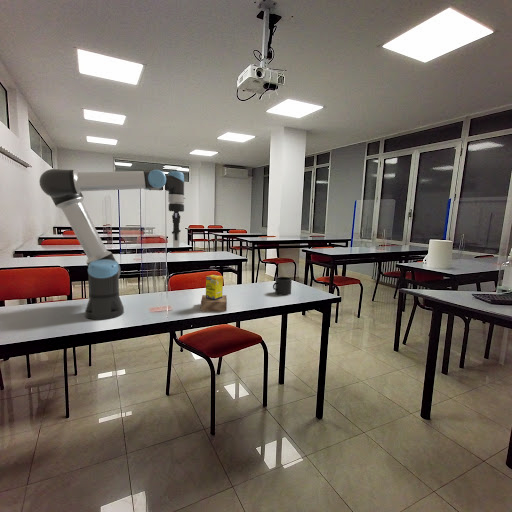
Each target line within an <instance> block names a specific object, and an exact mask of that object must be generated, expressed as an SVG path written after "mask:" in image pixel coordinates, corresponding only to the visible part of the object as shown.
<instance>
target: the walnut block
mask: <svg viewBox="0 0 512 512" xmlns="http://www.w3.org/2000/svg"><path fill="white" fill-rule="evenodd" d="M227 300H228V299H227V295H226V294H222V298H220V299H217V300H213V299H208V298H206V294H205V295H202V297H201V300H200V312H227V306H228V305H227V304H228V303H227V302H228V301H227Z"/></svg>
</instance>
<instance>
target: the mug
mask: <svg viewBox="0 0 512 512" xmlns="http://www.w3.org/2000/svg"><path fill="white" fill-rule="evenodd" d="M272 289H273V290H274V293H275V294H276V293H277V294H276V295H279V294H282V295H281V296H288V295H287V294H290V295H291V294H292V278H291V277H288V276H287V277H286V276H277V277H276V278H275V282H274V283H273V285H272Z"/></svg>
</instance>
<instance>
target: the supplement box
mask: <svg viewBox="0 0 512 512" xmlns="http://www.w3.org/2000/svg"><path fill="white" fill-rule="evenodd" d="M223 284H224V276H223V275H216V274H211V275H207V276H205V295H206V298H208V299H213V300H217V299H220V298H222V295H223V290H224V289H223V286H224V285H223Z"/></svg>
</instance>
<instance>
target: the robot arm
mask: <svg viewBox="0 0 512 512" xmlns="http://www.w3.org/2000/svg"><path fill="white" fill-rule="evenodd" d="M164 185H165V190H166V191H165V192H168V197H167V198H168V199H167V200H168V211H169V212H173V214H172V215H171V217H172V226H173V227H172V228H173V229H172V230H173V231H171V234H172V247H173V248H179V247H180V233H181V229H180V222H181V214H180V212H181V213H182V212H184V211H185V204H184V203H185V200H186V197H185V175H184V173H183V172H182V171H177V170H176V171H175V170H174V171H173V170H171V171H168V173H167V174H165V173H164V172H163V171H162V170H159V169H153V170H135V171H133V170H132V171H131V170H130V171H85V172H84V171H82V172H81V171H80V172H78V170H76V169H59V168H50V169H48V170H46V171H44V172H42V174H41V175H40V177H39V186H40V189H41V191H43V193H45V195H47V196H48V197H50V198H51V200H52V202H53V204H54V205H55V207H56V208H58V209H61V211H62V212H63V215H64V216H65V217H66V220H67V221H68V223H69V225H70V228H71V230H72V231H73V233H74V235H75V237H76V239H77V240H78V243H79V244H80V246H81V248H82V250H83V252H84V253H85V255H86V257H87V260H86V265H87V267H88V268H87V274H88V297H89V298H88V301H87V305H86V308H85V312H84V313H85V318H86V317H87V318H86V319H89V318H90V319H89V320H96V319H99V320H108V319H115V318H116V317H117V318H118V317H120V316H122V315H124V313H125V311H124V310H125V309H124V305H123V303H122V300H121V298H120V275H121V273H122V272H121V271H122V270H121V269H122V268H121V265H120V263H119V262H118V261H117V260H116V258H115V256H114V255H113V252H111V251H109V250H107V247H106V246H105V244H104V242H103V240H102V238H101V236H100V235H99V233H98V231H97V228H96V227H95V225H94V223H93V221H92V219H91V217H90V215H89V213H88V211H87V209H86V207H85V205H84V203H83V201H84V196H83V193H82V192H96V191H118V190H123V191H124V190H142V189H143V190H148V191H162V190H163V186H164Z"/></svg>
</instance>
